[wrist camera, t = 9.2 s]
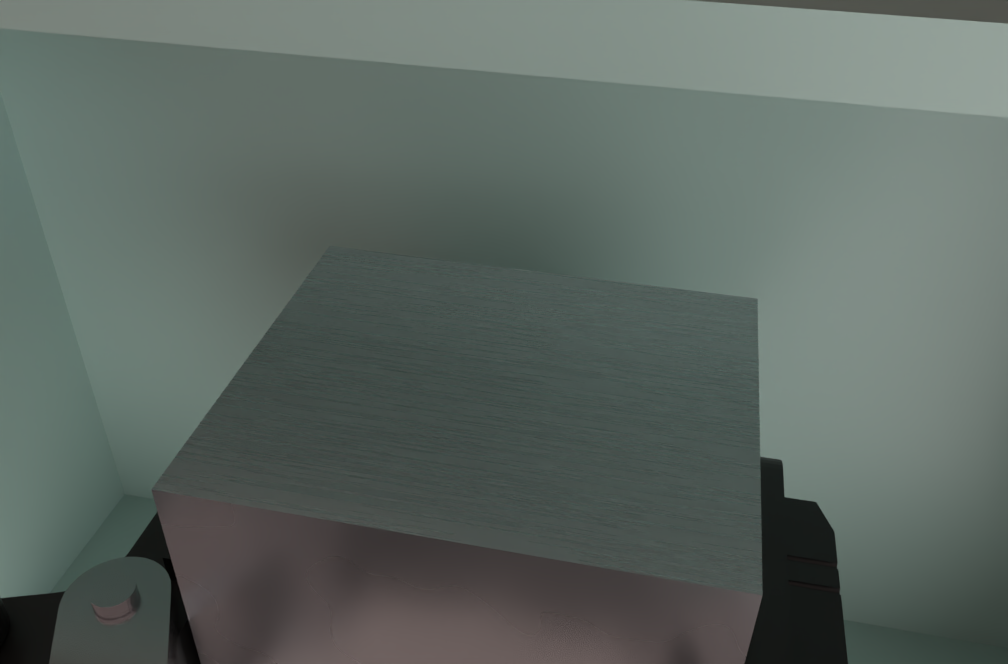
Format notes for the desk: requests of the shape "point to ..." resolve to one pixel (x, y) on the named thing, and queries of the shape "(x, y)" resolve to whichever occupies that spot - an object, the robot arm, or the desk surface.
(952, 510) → the tote
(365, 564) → the tin block
